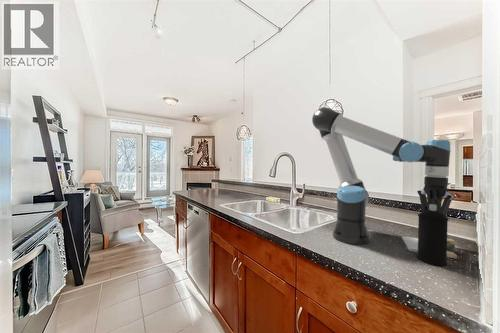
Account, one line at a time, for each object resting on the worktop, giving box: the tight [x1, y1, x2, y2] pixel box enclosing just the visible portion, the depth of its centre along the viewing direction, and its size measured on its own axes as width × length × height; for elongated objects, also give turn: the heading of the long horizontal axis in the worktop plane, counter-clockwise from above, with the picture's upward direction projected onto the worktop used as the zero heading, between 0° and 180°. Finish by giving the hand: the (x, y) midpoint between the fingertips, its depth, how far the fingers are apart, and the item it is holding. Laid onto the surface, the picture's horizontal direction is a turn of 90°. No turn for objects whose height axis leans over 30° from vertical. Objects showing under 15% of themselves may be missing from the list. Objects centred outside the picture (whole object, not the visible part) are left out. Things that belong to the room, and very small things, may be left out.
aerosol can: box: [416, 204, 449, 267], centre depth 74 cm, size 8×8×20 cm
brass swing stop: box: [447, 237, 456, 246], centre depth 84 cm, size 10×4×4 cm, turn 67°
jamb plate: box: [401, 235, 418, 253], centre depth 87 cm, size 7×15×1 cm, turn 153°
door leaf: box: [447, 243, 458, 260], centre depth 83 cm, size 8×15×4 cm, turn 153°
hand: (432, 230), depth 89 cm, fingers closed
